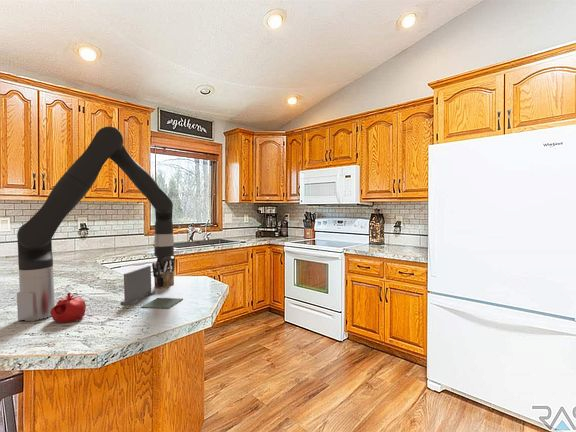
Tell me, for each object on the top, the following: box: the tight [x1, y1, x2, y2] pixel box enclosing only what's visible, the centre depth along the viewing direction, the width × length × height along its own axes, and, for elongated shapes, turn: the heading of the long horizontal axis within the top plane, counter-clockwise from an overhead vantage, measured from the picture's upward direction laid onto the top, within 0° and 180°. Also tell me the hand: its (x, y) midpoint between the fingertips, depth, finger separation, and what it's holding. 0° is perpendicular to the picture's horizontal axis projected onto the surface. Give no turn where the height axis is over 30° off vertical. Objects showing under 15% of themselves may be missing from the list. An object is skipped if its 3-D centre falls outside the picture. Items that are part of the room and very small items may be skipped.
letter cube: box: [153, 271, 175, 289], centre depth 129 cm, size 6×6×6 cm
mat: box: [140, 297, 184, 310], centre depth 120 cm, size 11×11×1 cm
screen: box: [120, 265, 156, 306], centre depth 127 cm, size 16×5×12 cm, turn 172°
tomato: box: [50, 292, 87, 324], centre depth 104 cm, size 10×10×9 cm
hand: (164, 284), depth 129 cm, fingers closed on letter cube, 5 cm apart
